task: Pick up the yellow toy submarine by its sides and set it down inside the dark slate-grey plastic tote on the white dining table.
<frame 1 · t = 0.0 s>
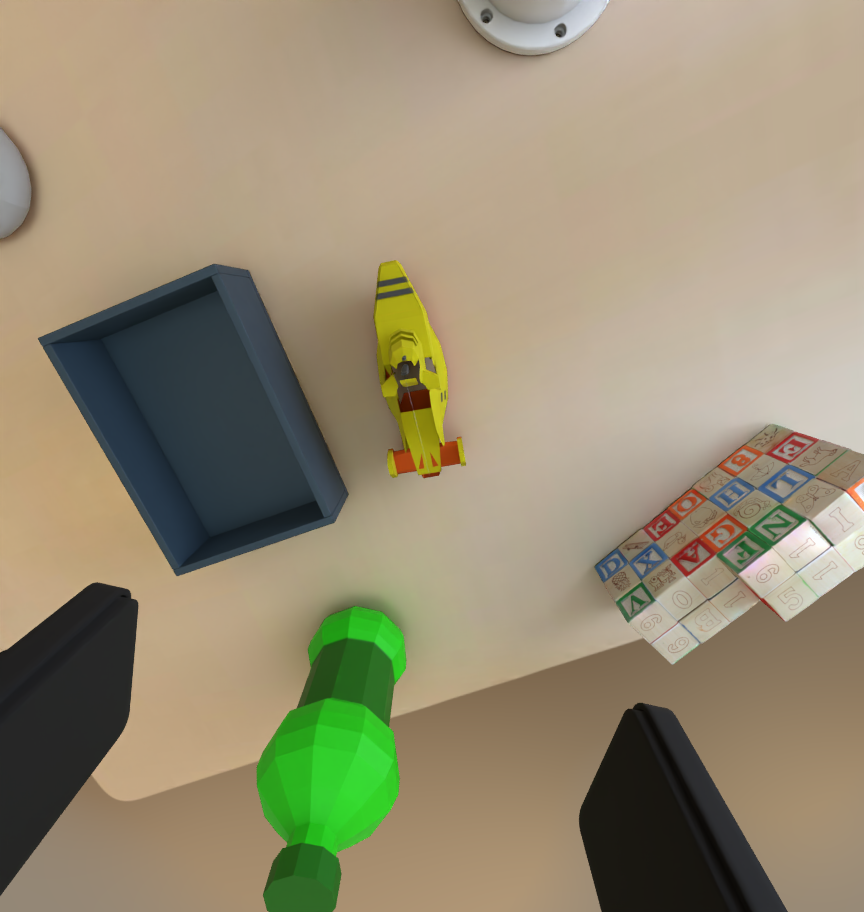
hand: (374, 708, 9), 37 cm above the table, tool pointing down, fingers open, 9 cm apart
stack of blocks: (696, 517, 48), on the table
tote: (227, 417, 46), on the table
yellow toy submarine: (414, 370, 45), on the table
plastic bottle: (363, 629, 53), on the table
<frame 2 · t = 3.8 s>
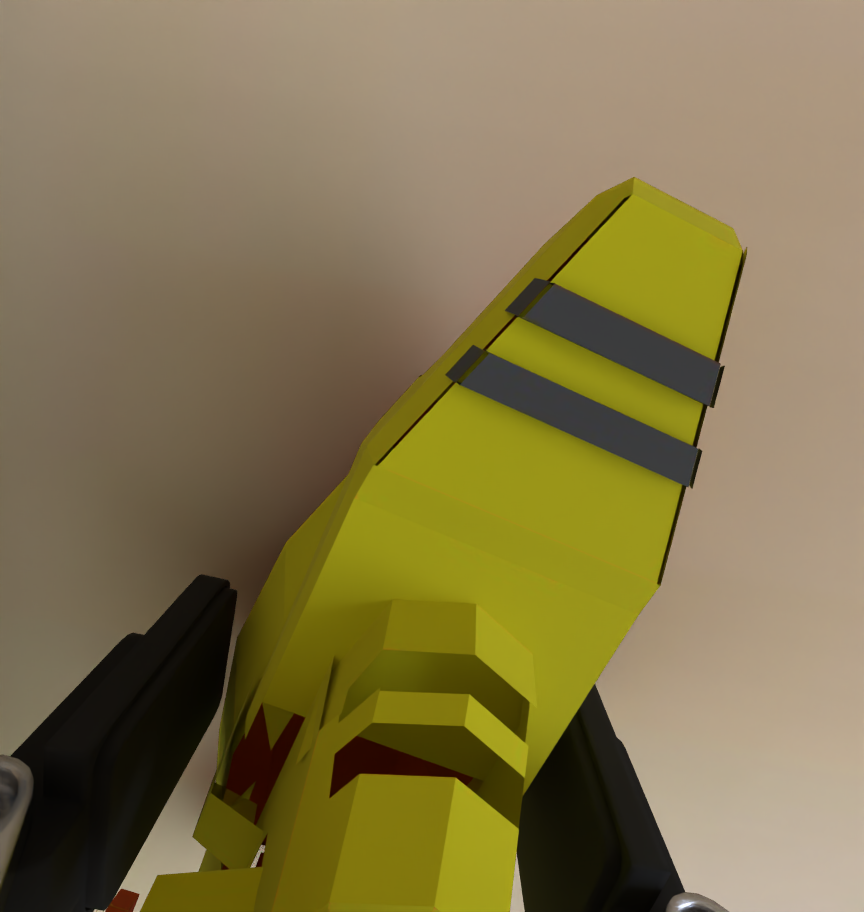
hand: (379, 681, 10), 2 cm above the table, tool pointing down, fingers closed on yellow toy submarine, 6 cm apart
yellow toy submarine: (392, 611, 12), on the table, touching gripper
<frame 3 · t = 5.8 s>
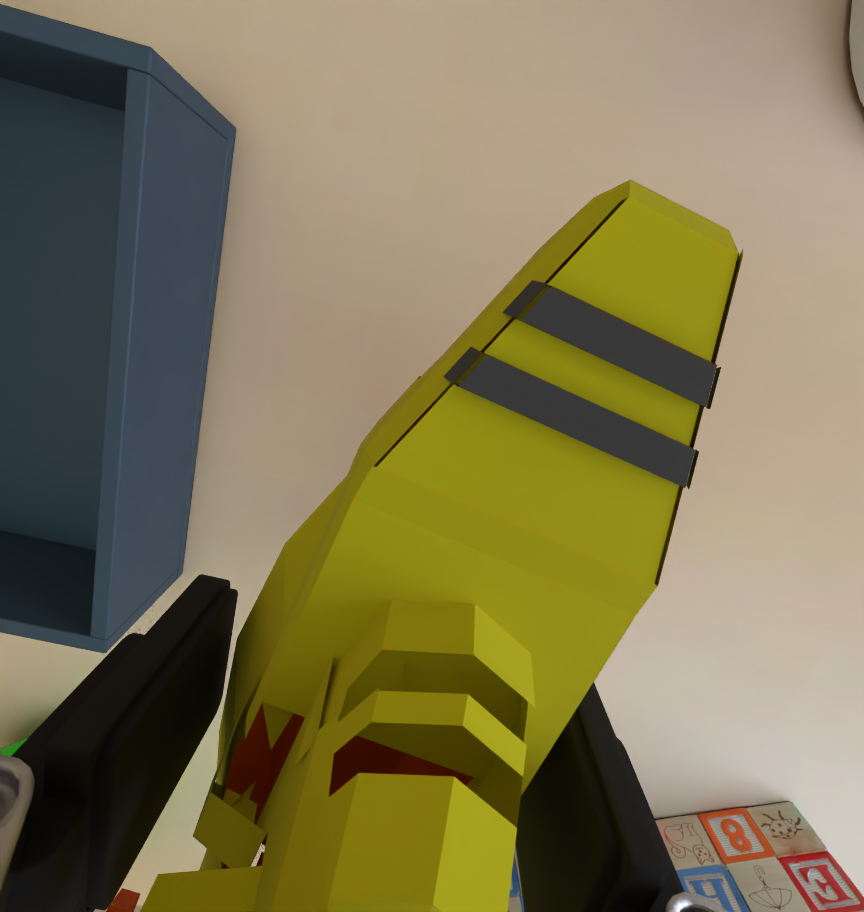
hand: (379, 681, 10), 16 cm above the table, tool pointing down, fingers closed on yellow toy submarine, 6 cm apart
stack of blocks: (629, 853, 33), on the table
tote: (44, 339, 23), on the table
yellow toy submarine: (391, 612, 12), point 13 cm above the table, touching gripper
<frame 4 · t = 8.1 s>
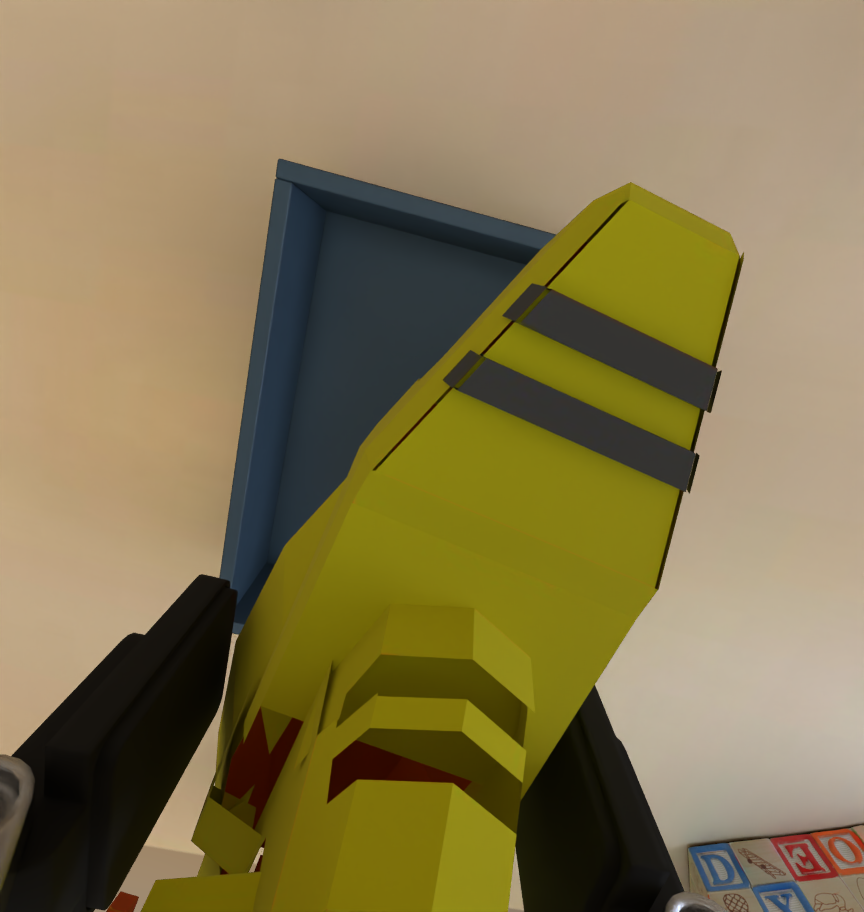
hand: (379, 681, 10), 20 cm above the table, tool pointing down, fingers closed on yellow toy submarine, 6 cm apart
stack of blocks: (825, 854, 38), on the table
tote: (414, 432, 29), on the table
yellow toy submarine: (391, 614, 12), point 17 cm above the table, touching gripper
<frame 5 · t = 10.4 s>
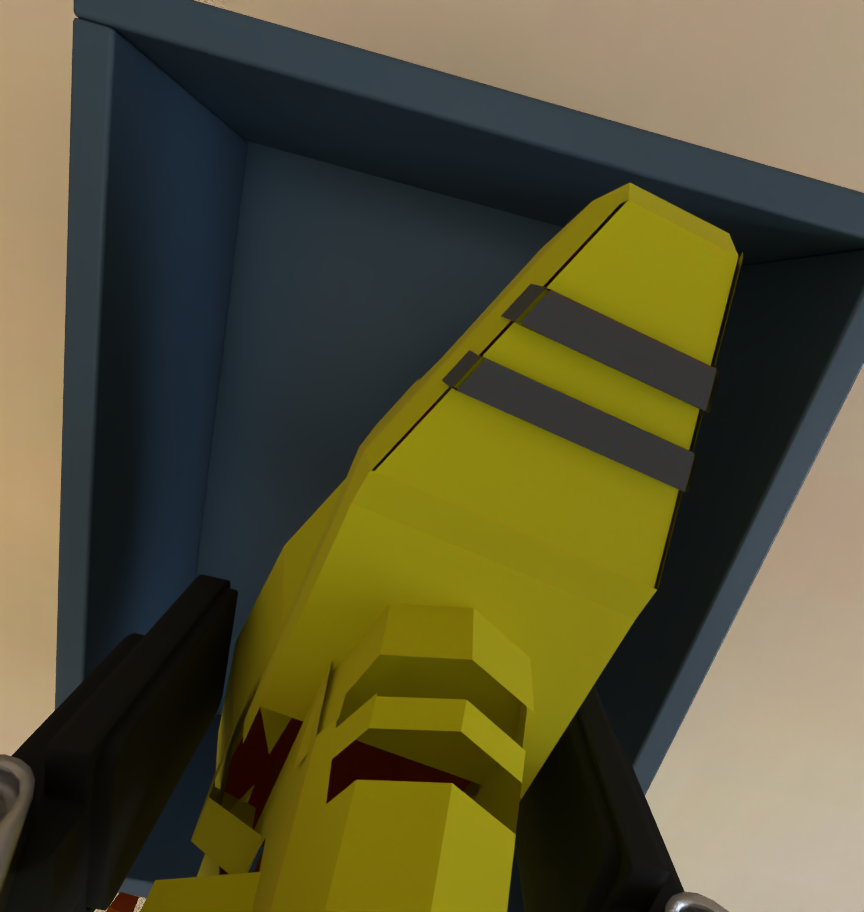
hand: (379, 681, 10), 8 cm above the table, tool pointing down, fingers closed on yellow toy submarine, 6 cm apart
tote: (407, 513, 18), on the table
yellow toy submarine: (390, 614, 12), point 6 cm above the table, touching gripper
when the fingers open (3 cm above the table, at t = 12.3 s): yellow toy submarine stays where it is, resting on tote.
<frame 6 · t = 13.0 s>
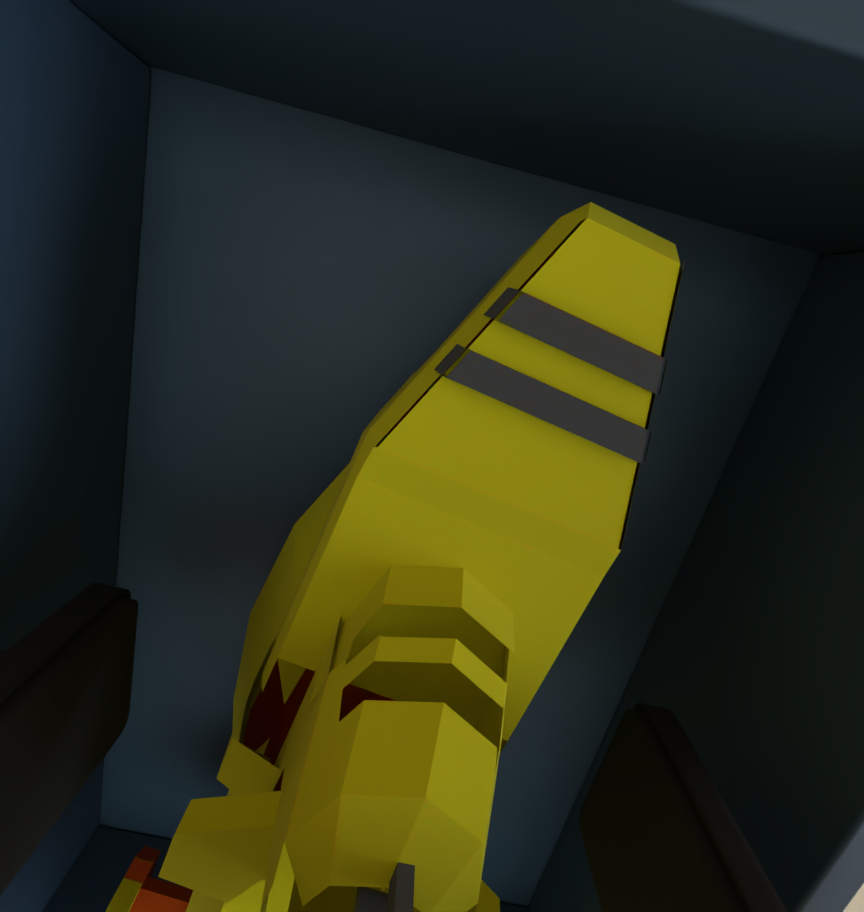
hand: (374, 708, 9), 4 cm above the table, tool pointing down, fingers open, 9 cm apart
tote: (391, 583, 13), on the table
yellow toy submarine: (391, 592, 13), resting on tote
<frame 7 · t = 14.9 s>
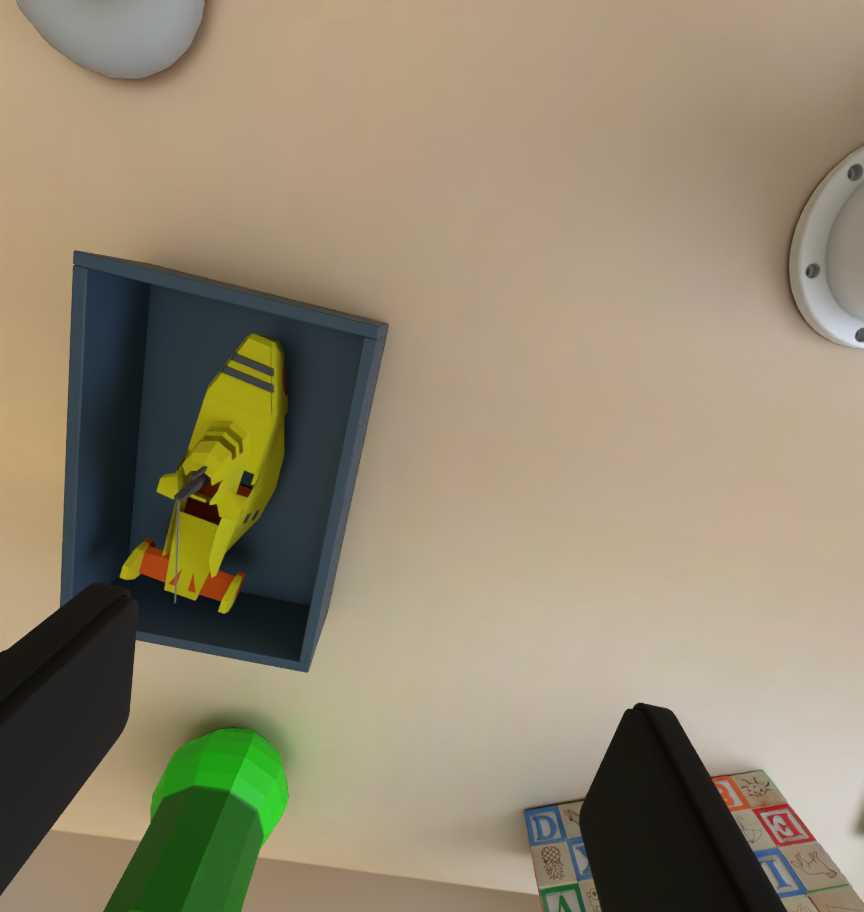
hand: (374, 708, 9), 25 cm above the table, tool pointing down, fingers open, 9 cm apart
stack of blocks: (644, 812, 44), on the table
tote: (246, 456, 34), on the table
yellow toy submarine: (245, 458, 34), resting on tote
plastic bottle: (241, 750, 41), on the table
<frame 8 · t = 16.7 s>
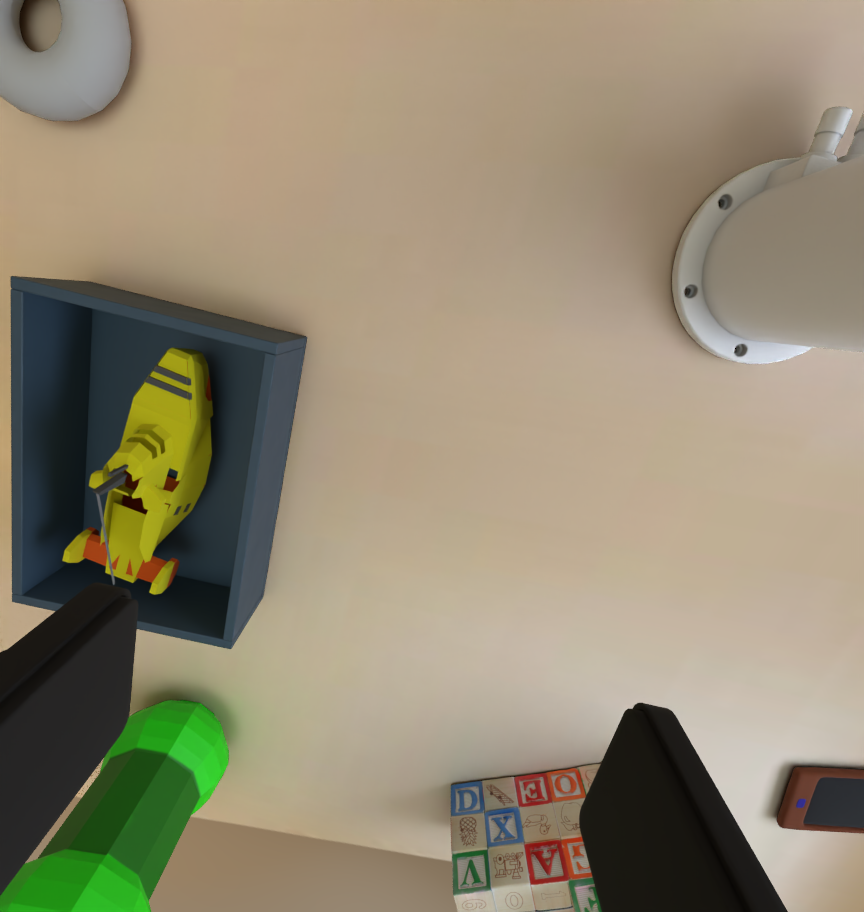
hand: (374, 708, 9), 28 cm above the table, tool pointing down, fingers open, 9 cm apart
stack of blocks: (564, 790, 47), on the table
tote: (184, 454, 38), on the table
donut: (63, 37, 30), on the table
yellow toy submarine: (182, 456, 37), resting on tote
plastic bottle: (190, 721, 45), on the table
smartphone: (860, 795, 46), on the table
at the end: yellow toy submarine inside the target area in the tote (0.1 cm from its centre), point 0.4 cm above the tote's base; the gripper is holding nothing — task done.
